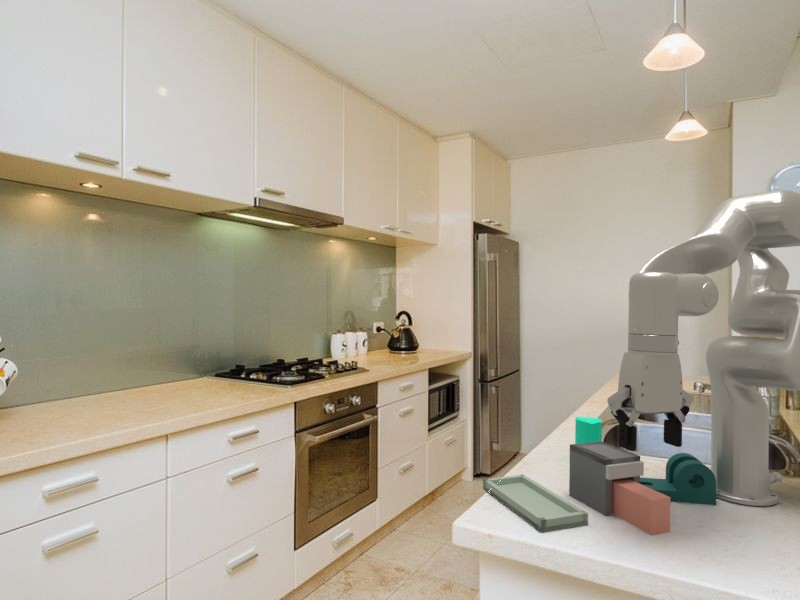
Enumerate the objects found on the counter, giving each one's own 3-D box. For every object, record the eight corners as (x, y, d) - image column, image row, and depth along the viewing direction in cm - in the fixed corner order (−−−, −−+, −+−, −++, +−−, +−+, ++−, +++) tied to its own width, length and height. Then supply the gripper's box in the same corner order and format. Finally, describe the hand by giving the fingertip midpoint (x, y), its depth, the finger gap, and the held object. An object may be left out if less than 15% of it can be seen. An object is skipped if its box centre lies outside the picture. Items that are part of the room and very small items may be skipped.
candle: (571, 464, 118) (572, 413, 118) (578, 457, 123) (579, 409, 123) (598, 469, 114) (598, 417, 114) (604, 462, 119) (604, 412, 119)
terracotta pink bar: (602, 497, 99) (602, 466, 99) (670, 533, 83) (670, 496, 83) (585, 499, 97) (585, 468, 97) (651, 536, 82) (651, 500, 82)
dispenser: (643, 512, 91) (643, 457, 91) (608, 517, 89) (609, 461, 89) (601, 490, 101) (601, 441, 101) (569, 495, 99) (569, 444, 99)
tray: (523, 484, 105) (523, 474, 105) (588, 524, 86) (588, 513, 86) (483, 489, 102) (483, 479, 102) (541, 532, 83) (541, 520, 83)
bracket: (701, 492, 101) (702, 454, 101) (715, 506, 95) (716, 464, 95) (607, 485, 105) (607, 448, 105) (614, 498, 98) (615, 458, 98)
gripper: (672, 343, 91) (671, 437, 91) (595, 343, 85) (592, 444, 85) (710, 347, 84) (708, 449, 84) (628, 347, 78) (626, 457, 78)
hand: (650, 446), depth 84 cm, fingers open, 9 cm apart
